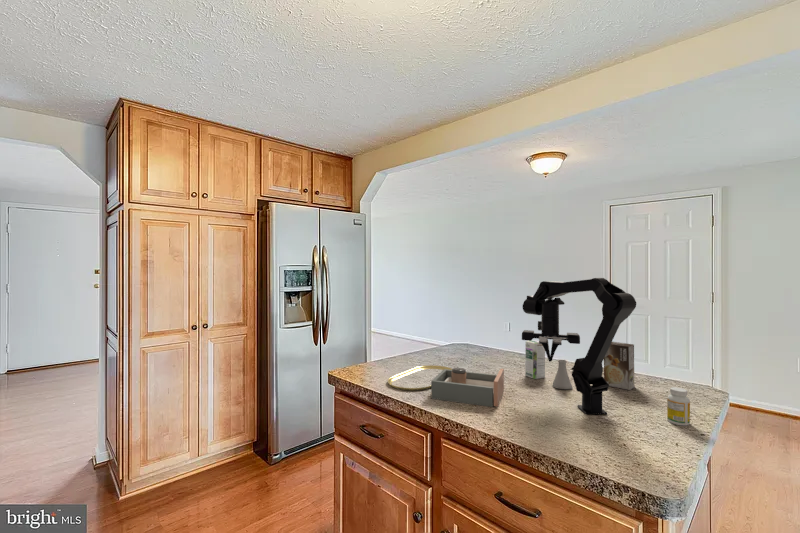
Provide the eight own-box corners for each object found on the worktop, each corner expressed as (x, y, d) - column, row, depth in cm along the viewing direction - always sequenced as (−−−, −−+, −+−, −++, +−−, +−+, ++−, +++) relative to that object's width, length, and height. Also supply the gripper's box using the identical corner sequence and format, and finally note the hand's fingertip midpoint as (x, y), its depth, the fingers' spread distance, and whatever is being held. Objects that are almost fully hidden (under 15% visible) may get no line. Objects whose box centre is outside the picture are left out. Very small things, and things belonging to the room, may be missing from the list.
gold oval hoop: (377, 386, 145) (377, 382, 145) (425, 366, 174) (425, 363, 174) (419, 395, 135) (419, 391, 135) (463, 373, 163) (463, 369, 163)
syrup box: (524, 375, 158) (524, 340, 158) (535, 374, 160) (535, 339, 160) (534, 379, 153) (534, 343, 153) (545, 377, 155) (545, 342, 155)
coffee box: (635, 387, 143) (635, 344, 143) (629, 390, 139) (629, 346, 139) (609, 381, 150) (609, 340, 150) (602, 384, 146) (602, 342, 146)
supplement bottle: (677, 426, 108) (677, 392, 108) (662, 419, 113) (662, 386, 113) (695, 425, 108) (695, 392, 108) (679, 418, 114) (679, 386, 114)
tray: (503, 391, 137) (503, 368, 137) (497, 406, 122) (497, 381, 122) (449, 384, 145) (449, 363, 145) (437, 398, 130) (437, 375, 130)
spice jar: (467, 392, 133) (468, 371, 133) (453, 392, 133) (453, 371, 133) (463, 387, 138) (464, 367, 138) (449, 387, 138) (450, 367, 138)
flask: (568, 384, 147) (568, 358, 147) (575, 390, 139) (575, 363, 140) (549, 383, 147) (549, 357, 147) (555, 389, 140) (555, 362, 140)
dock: (499, 391, 138) (499, 374, 138) (492, 406, 123) (492, 388, 123) (444, 384, 146) (444, 369, 146) (431, 398, 131) (431, 381, 131)
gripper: (578, 315, 138) (578, 358, 138) (523, 313, 145) (524, 354, 145) (580, 319, 127) (580, 366, 127) (521, 316, 134) (521, 360, 134)
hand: (550, 361), depth 134 cm, fingers closed
